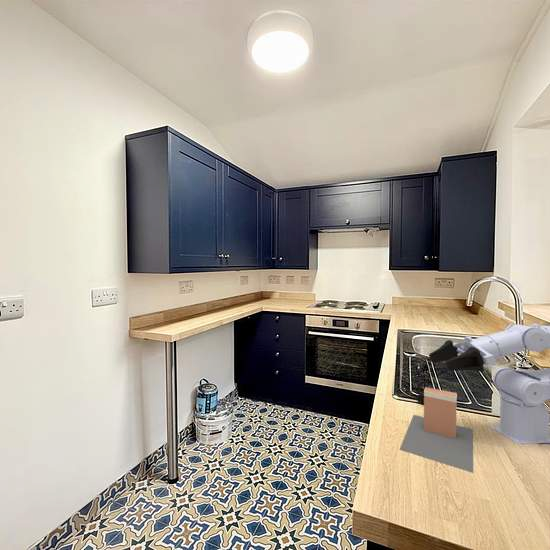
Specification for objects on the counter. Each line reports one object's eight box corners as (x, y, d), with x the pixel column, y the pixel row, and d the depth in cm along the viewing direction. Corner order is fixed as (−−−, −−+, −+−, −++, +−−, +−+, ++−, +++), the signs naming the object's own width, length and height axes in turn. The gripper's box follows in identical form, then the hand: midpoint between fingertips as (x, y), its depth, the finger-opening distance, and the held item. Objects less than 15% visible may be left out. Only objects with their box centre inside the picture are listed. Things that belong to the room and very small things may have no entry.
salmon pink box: (425, 424, 79) (425, 387, 79) (456, 432, 75) (456, 393, 75) (423, 429, 76) (423, 391, 76) (455, 438, 72) (456, 397, 72)
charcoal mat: (413, 416, 84) (413, 414, 84) (472, 430, 76) (472, 429, 76) (399, 451, 68) (399, 449, 67) (473, 474, 60) (473, 472, 60)
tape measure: (428, 399, 96) (428, 388, 96) (450, 408, 90) (450, 395, 90) (415, 404, 92) (416, 392, 92) (437, 413, 86) (437, 400, 86)
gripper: (467, 327, 82) (419, 341, 82) (508, 336, 67) (450, 353, 67) (474, 352, 81) (427, 366, 81) (517, 367, 67) (459, 383, 67)
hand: (438, 362), depth 74 cm, fingers open, 7 cm apart
